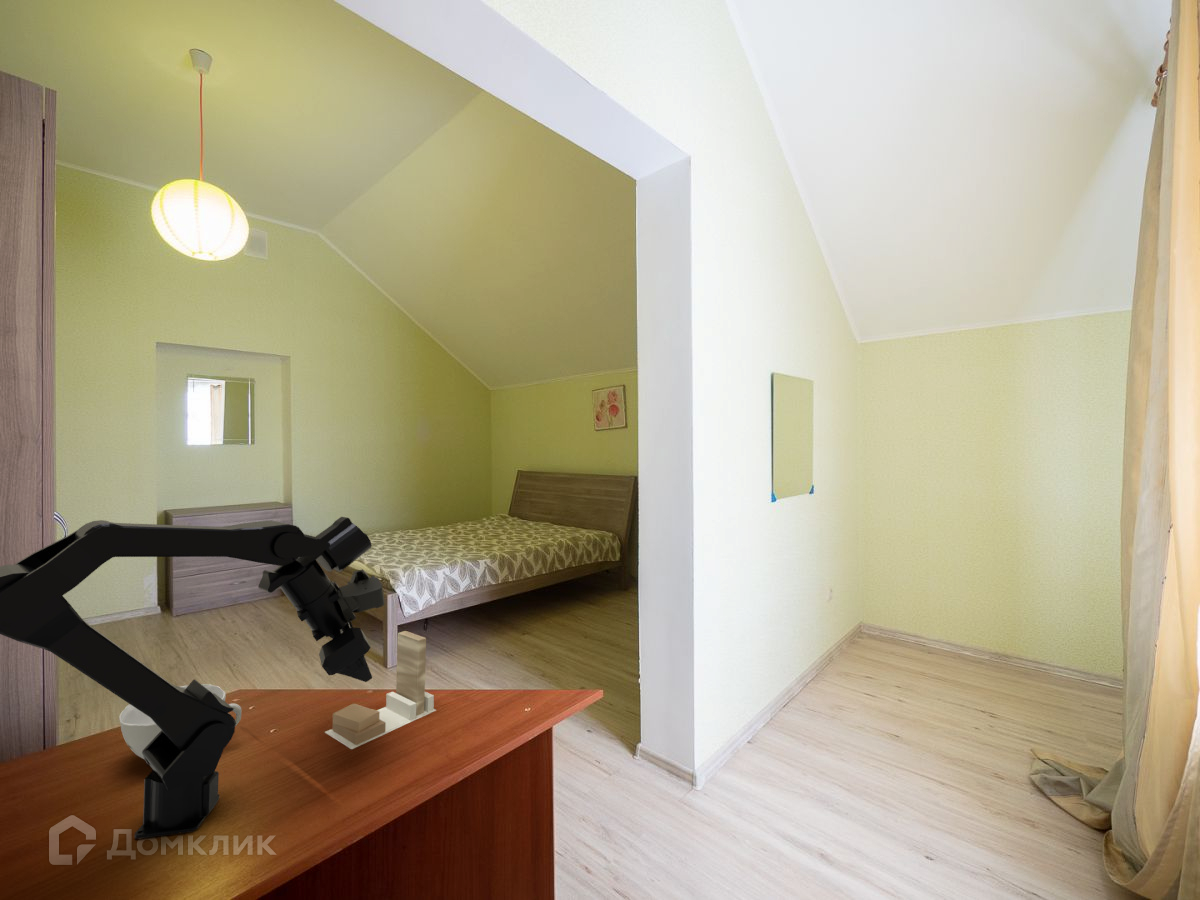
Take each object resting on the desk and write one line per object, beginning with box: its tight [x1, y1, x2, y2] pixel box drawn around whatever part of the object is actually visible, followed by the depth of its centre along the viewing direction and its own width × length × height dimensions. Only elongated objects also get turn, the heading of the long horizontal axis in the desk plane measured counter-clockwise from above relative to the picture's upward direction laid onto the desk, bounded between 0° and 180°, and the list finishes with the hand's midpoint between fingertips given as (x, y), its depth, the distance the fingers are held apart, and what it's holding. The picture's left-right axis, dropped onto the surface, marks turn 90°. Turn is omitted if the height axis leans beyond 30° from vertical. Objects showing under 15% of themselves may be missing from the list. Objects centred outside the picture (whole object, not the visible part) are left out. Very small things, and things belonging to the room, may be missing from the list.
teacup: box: [118, 683, 242, 760], centre depth 80 cm, size 15×12×8 cm
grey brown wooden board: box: [395, 630, 427, 716], centre depth 93 cm, size 2×6×13 cm, turn 54°
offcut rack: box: [324, 691, 437, 750], centre depth 89 cm, size 16×8×4 cm, turn 145°
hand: (363, 663), depth 85 cm, fingers open, 9 cm apart
